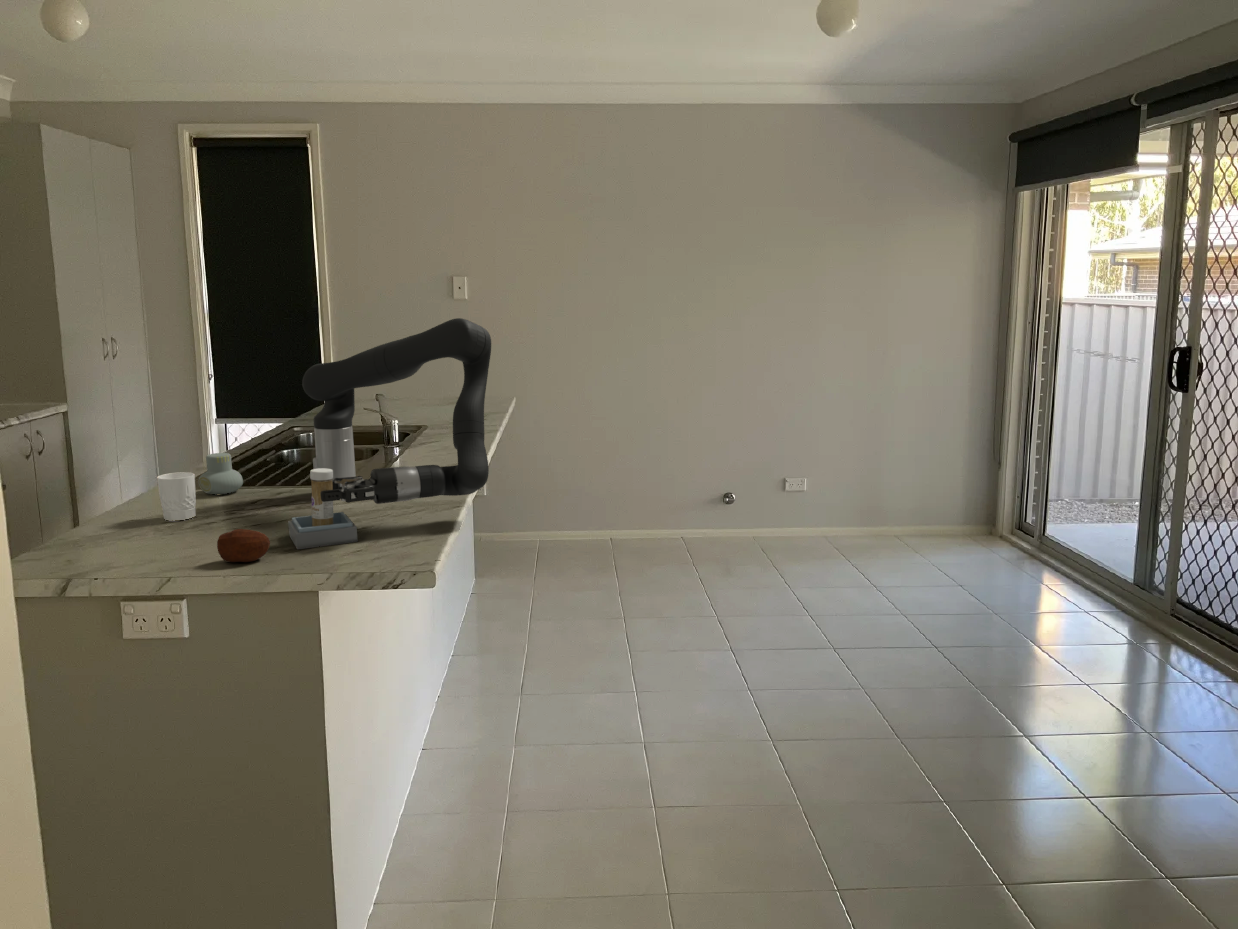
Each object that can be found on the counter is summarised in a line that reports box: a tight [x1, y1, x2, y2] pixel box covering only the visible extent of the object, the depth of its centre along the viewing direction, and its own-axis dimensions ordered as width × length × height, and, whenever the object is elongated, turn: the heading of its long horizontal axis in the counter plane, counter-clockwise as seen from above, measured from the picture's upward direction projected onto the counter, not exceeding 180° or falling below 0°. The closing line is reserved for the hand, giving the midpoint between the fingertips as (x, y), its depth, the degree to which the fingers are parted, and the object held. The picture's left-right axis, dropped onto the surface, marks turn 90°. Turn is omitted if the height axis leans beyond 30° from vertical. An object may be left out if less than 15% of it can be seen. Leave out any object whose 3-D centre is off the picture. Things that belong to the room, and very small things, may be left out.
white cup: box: [156, 471, 197, 522], centre depth 221 cm, size 8×8×10 cm
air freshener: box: [197, 452, 244, 496], centre depth 247 cm, size 11×8×10 cm
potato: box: [216, 528, 271, 563], centre depth 187 cm, size 7×9×6 cm
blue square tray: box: [287, 511, 359, 550], centre depth 202 cm, size 12×12×4 cm
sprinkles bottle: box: [309, 468, 334, 527], centre depth 202 cm, size 5×5×14 cm
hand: (317, 492), depth 201 cm, fingers open, 8 cm apart
